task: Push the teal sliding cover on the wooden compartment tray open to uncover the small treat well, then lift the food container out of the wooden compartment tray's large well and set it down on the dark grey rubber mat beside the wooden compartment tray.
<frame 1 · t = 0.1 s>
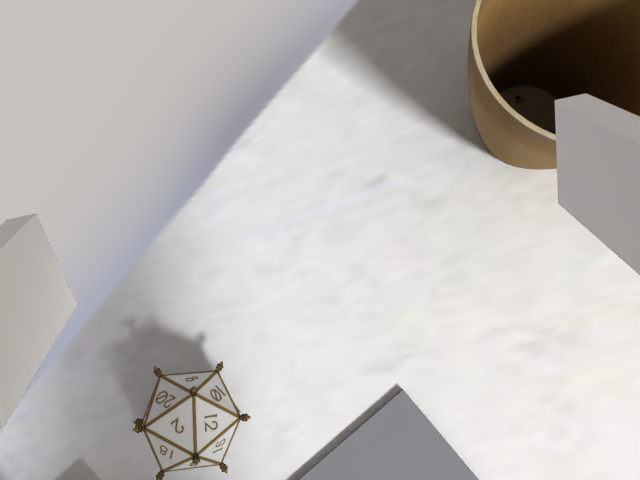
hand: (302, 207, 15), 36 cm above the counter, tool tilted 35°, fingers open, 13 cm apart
game die: (205, 413, 50), on the counter
plant pot: (525, 126, 52), on the counter
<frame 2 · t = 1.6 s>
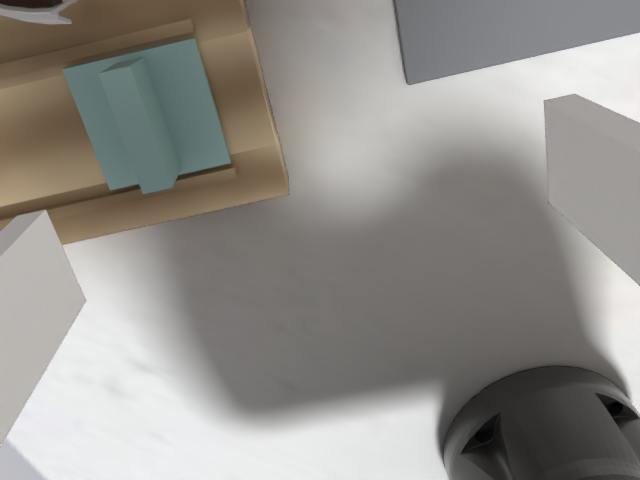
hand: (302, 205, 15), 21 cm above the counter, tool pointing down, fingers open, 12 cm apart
cover: (144, 124, 30), point 5 cm above the counter, slide at 0.0 cm
wooden compartment tray: (72, 6, 32), on the counter
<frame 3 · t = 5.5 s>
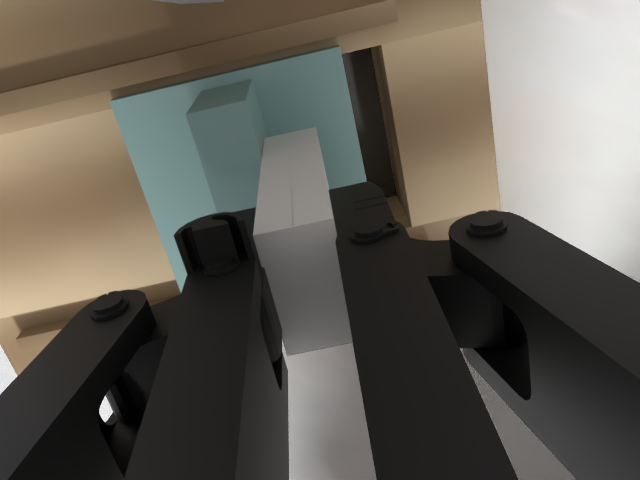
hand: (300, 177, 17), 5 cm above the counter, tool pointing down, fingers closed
cover: (252, 195, 17), point 5 cm above the counter, slide at 1.6 cm, touching gripper
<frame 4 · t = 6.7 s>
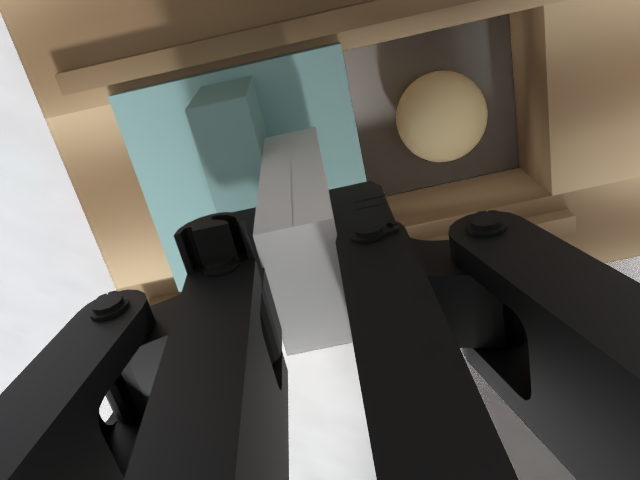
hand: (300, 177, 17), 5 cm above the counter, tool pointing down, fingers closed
cover: (250, 192, 17), point 5 cm above the counter, slide at 6.4 cm, touching gripper
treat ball: (431, 107, 21), resting in wooden compartment tray
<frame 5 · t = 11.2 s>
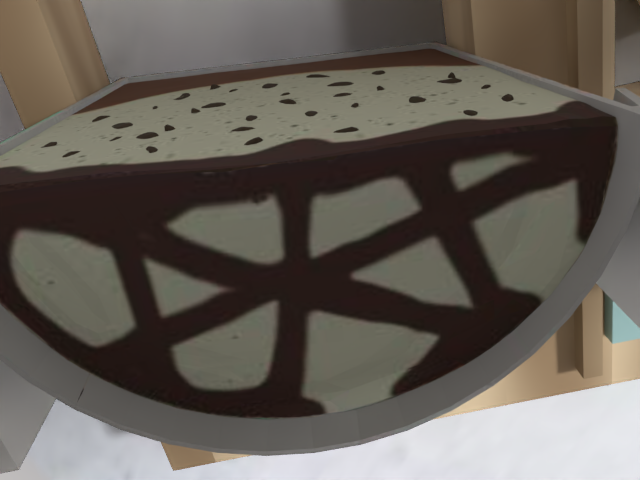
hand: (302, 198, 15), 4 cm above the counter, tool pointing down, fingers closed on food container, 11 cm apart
food container: (291, 157, 19), resting in wooden compartment tray, touching gripper
wooden compartment tray: (470, 118, 19), on the counter
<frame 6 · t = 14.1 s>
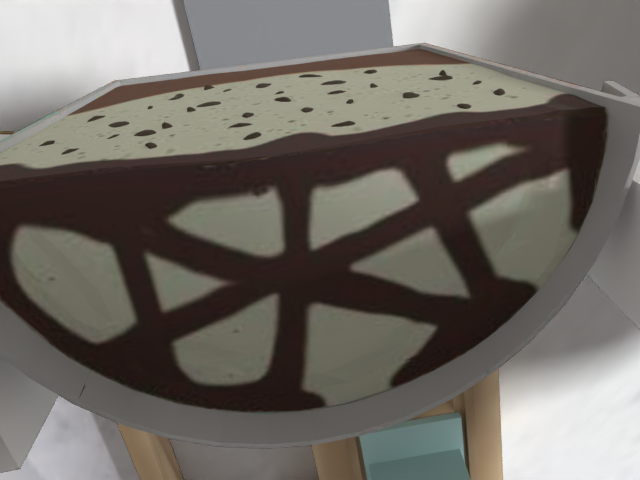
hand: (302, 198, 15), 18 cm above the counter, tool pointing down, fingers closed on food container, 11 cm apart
cover: (419, 479, 38), point 5 cm above the counter, slide at 6.4 cm
food container: (283, 158, 19), point 14 cm above the counter, touching gripper
mat: (289, 17, 30), on the counter
wooden compartment tray: (314, 403, 41), on the counter
when the fingers open (5 cm above the counter, at t = 17.4 s): food container stays where it is, resting on mat.
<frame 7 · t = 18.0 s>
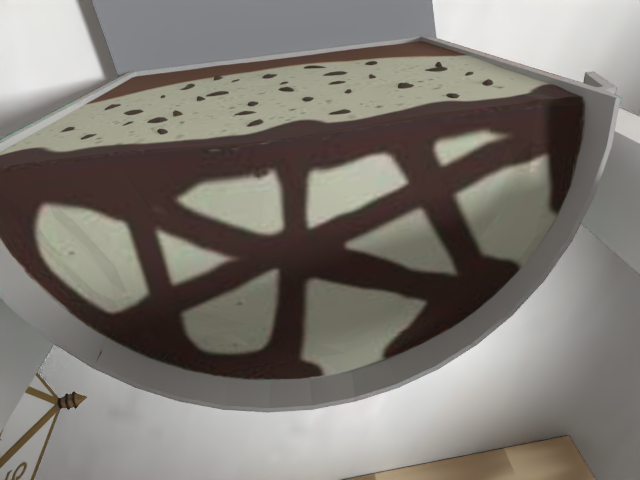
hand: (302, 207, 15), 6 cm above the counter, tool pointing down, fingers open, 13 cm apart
food container: (290, 146, 20), resting on mat
mat: (297, 142, 20), on the counter
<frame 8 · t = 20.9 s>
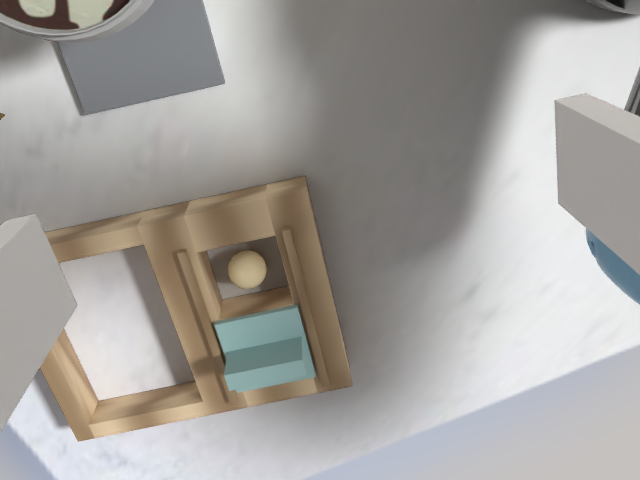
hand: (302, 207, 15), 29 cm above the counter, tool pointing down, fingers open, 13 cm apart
cover: (266, 361, 46), point 5 cm above the counter, slide at 6.4 cm
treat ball: (248, 260, 48), resting in wooden compartment tray
wooden compartment tray: (187, 307, 49), on the counter
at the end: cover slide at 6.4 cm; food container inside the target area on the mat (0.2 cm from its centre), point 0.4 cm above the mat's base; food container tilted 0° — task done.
